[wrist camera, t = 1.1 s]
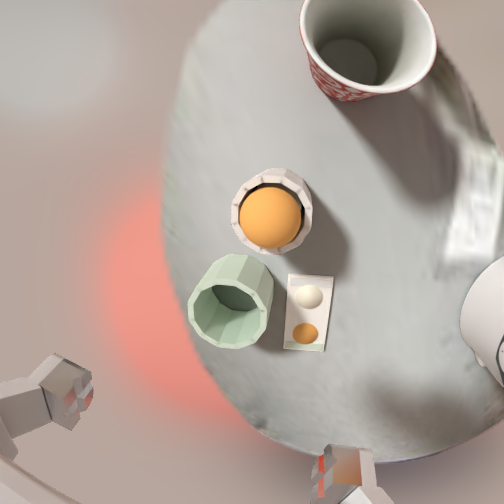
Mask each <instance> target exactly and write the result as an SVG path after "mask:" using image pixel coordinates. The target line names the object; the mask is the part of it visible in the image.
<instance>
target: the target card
mask: <svg viewBox="0 0 504 504" xmlns="http://www.w3.org/2000/svg"><path fill="white" fill-rule="evenodd" d="M333 279H334V277H333V276H319V275H303V274H288V289H287V304H286V318H285V332H284V345H283V349H294V350H308V351H324V344H325V338H326V331H327V324H328V317H329V310H330V303H331V295H332V287H333Z"/></svg>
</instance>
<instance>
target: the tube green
mask: <svg viewBox="0 0 504 504" xmlns="http://www.w3.org/2000/svg"><path fill="white" fill-rule="evenodd" d="M216 284H218V285H229V286H236V287H237V288H239V289H241V290H242V291H244V292H246V293H247V294H249V295H251V296H252V298H253V300H254V301H255V303H256V305H257V306H258V307H257V308H255V309H252V310H250V311H247V312H246V311H235V310H231V309H229V308H228V307H226V306H225V305H223V304H221V303H220V302H219V301H218V299H217V298H216V296H215V294H214V293H213V291H212V286H214V285H216ZM273 288H274V280H273V278H272V276H271V274H270V273H269V271H268V269H267V267H266V266H265V264H263V263H261V262H260V261H258V260H257V259H255V258H253V257H252V256H250V255H245V254H228V255H226V256H224V257H222V258H220V259H218V260H216V261H214V263H213V264H212V266H211V267H210V268H209V270H208V271H207V273H206V274H205V275H204V277H203V278H202V280H201V281H200V282H199V284H198V285H197V286H196V288H195V290H194V292H193V293H192V295H191V297H190V299H189V300H188V302H187V304H188V316H189V321H190V323H191V324H192V326H193V327H194V329H195V330H196V332H197V333H198V334H199V336H200V337H202V338H203V339H205V340H207V341H208V342H210V343H212V344H213V345H215V346H217V347H223V348H231V349H239V348H242V347H245V346H248V345H250V344H253V343H255V342H256V341H257V340H258V339H259V337H260V336H261V335H262V333H263V332H264V331H265V330H266V327H267V323H268V318H269V314H270V309H271V304H272V300H273Z"/></svg>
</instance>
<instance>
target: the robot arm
mask: <svg viewBox="0 0 504 504" xmlns="http://www.w3.org/2000/svg"><path fill="white" fill-rule="evenodd" d="M460 329H461V334H462V337H463V339H464V341H465V342H466V343H467V344H468V345H469V346H470V347H471V348H472V349H473V350H474V352H475V357H476V360H477V362H478V363H479V365H480V366H486V367H487V368H488V369H489V371H490V372H491V373H492V374H493V376H494V377H495V378H496V379H497V381H498V382H499V383H500V384H501V385H502V387H504V255H503V256H502V257H501V258H500V259H498V260H497V261H495V262H494V263H492V264H491V265H490V266H489V267H487V268H486V269H485V270H484V271H483V272H482V273H481V274H480V276H479V277H478V278H477V279H476V281H475V282H474V284H473V285H472V287H471V288H470V290H469V292H468V294H467V296H466V298H465V301H464V304H463V307H462V311H461V317H460ZM91 379H92V375H91V372H90V371H88V370H86V369H85V368H82V367H81V366H79V365H77V364H75V363H73V362H71V361H69V360H67V359H65V358H64V357H62V356H60V355H58V354H56V353H54V354H51V355H50V356H49V357H48V358H47V359H46V360H45V361H44V362H43V363H42V364H41V365H40V366H39V367H38V368H37V369H36V370H35V371H34V372H33V373H32V374H31V375H30V376H29V377H28V378H26V377H21V378H17V379H13V380H9V381H5V382H1V383H0V504H81V503H80V502H78V501H76V500H74V499H72V498H70V497H68V496H66V495H65V494H63V493H61V492H60V491H58V490H56V489H55V488H53V487H51V486H49V485H48V484H46V483H45V482H43V481H42V480H40V479H38V478H37V477H35V476H34V475H32V474H30V473H29V472H28V471H26V470H25V469H23V468H22V467H20V466H19V465H18V464H16V463H15V462H13V459H14V458H15V457H16V455H17V454H18V449H17V447H16V445H15V444H14V442H13V440H12V439H13V438H15V437H17V436H20V435H22V434H25V433H27V432H29V431H32V430H34V429H36V428H39V427H41V426H43V425H45V424H47V423H50V422H51V420H52V421H54V422H55V423H57V424H59V425H61V426H63V427H65V428H67V429H68V430H72V429H73V428H74V426H75V425H76V424H77V422H78V421H79V419H80V414H79V412H82V411H85V410H87V408H88V407H89V405H90V403H91V401H92V398H93V386H92V385H91V384H90V380H91ZM311 480H312V482H313V483H314V485H315V486H314V487H313V488H312V490H311V498H310V504H394V502H393V501H392V500H391V499H390V498H389V497H388V495H387V494H386V493H385V492H384V490H383V489H382V488H381V487H377V483H376V475H375V468H374V460H373V453H372V450H371V449H367V448H356V447H351V446H343V445H335V444H328V445H327V446H326V447H325V449H324V454H323V455H321V456H319V457H318V458H317V460H316V461H315V463H314V466H313V468H312V476H311Z"/></svg>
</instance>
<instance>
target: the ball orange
mask: <svg viewBox="0 0 504 504" xmlns="http://www.w3.org/2000/svg"><path fill="white" fill-rule="evenodd" d="M300 224H301V213H300V209H299V206H298V204H297V202H296V201H295V199H294V198H293V197H292V196H291V195H290V194H289V193H287V192H286V191H284V190H282V189H279V188H274V187H267V188H262V189H259V190H257V191H255V192H253V193H252V194H250V195H249V196H248V197H247V198H246V200H245V201H244V203H243V205H242V207H241V210H240V226H241V229H242V231H243V233H244V235H245V236H246V237H247V238H248V240H250V241H251V242H252V243H253V244H255V245H257V246H259V247H262V248H268V249H273V248H278V247H282V246H284V245H286V244H287V243H289V242H290V241H291V240H292V239H293V238H294V237H295V236H296V234H297V232H298V230H299V227H300Z"/></svg>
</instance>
